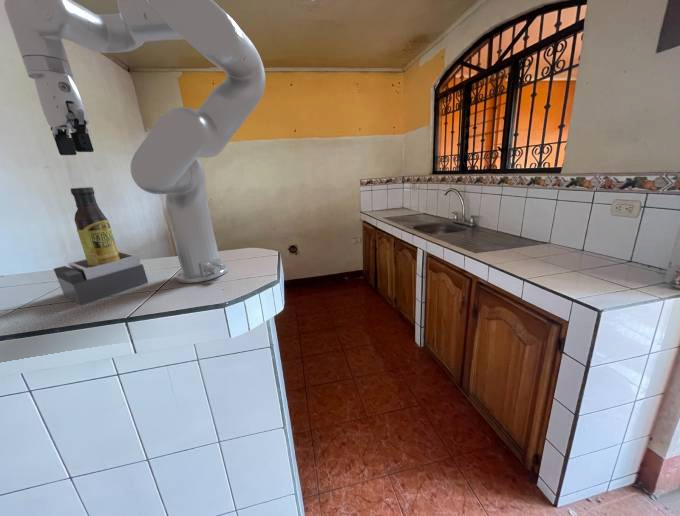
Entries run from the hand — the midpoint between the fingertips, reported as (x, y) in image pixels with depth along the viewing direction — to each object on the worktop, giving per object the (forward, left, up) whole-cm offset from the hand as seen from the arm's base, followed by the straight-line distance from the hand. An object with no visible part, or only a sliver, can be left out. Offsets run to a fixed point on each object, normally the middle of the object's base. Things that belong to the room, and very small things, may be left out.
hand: (76, 153), depth 69 cm
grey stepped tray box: (-5, +4, -33) cm, 33 cm away
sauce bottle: (-5, +3, -28) cm, 28 cm away
